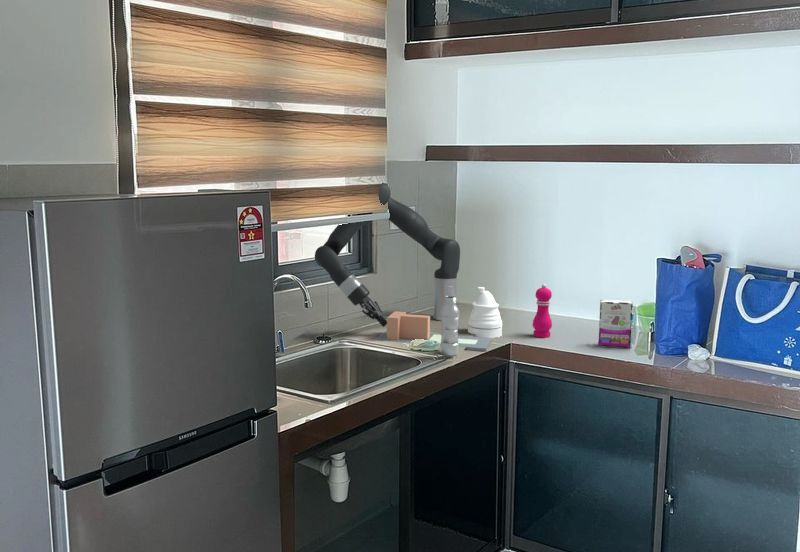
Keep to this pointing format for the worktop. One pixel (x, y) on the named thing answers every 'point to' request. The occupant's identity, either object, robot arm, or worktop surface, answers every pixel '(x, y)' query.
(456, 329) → the plastic bottle
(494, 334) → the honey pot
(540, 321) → the pepper mill
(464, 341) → the board
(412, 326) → the t block
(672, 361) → the worktop surface
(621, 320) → the candy bar box
